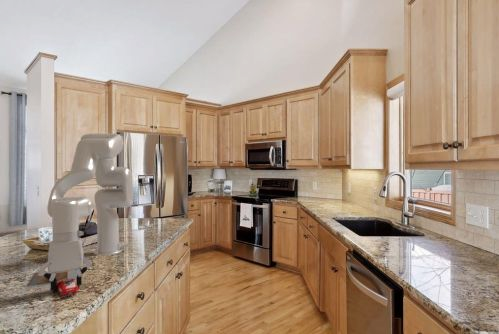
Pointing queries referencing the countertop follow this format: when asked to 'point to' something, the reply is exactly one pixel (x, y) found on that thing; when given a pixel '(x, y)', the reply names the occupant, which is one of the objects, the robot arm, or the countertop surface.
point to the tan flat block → (58, 276)
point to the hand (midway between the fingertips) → (66, 288)
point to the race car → (67, 287)
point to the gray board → (35, 282)
